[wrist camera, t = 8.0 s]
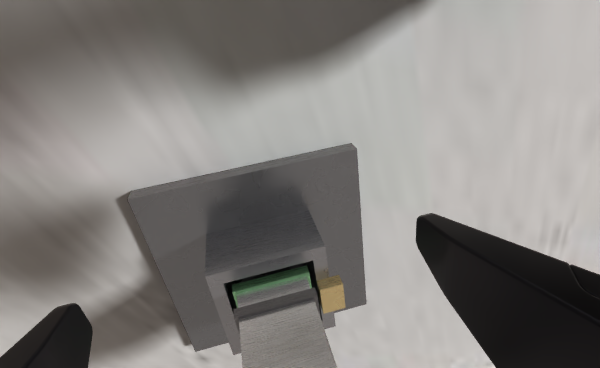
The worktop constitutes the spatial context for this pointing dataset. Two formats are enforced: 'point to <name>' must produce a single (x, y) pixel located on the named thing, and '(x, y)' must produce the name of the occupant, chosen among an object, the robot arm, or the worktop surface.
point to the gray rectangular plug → (281, 322)
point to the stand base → (256, 236)
